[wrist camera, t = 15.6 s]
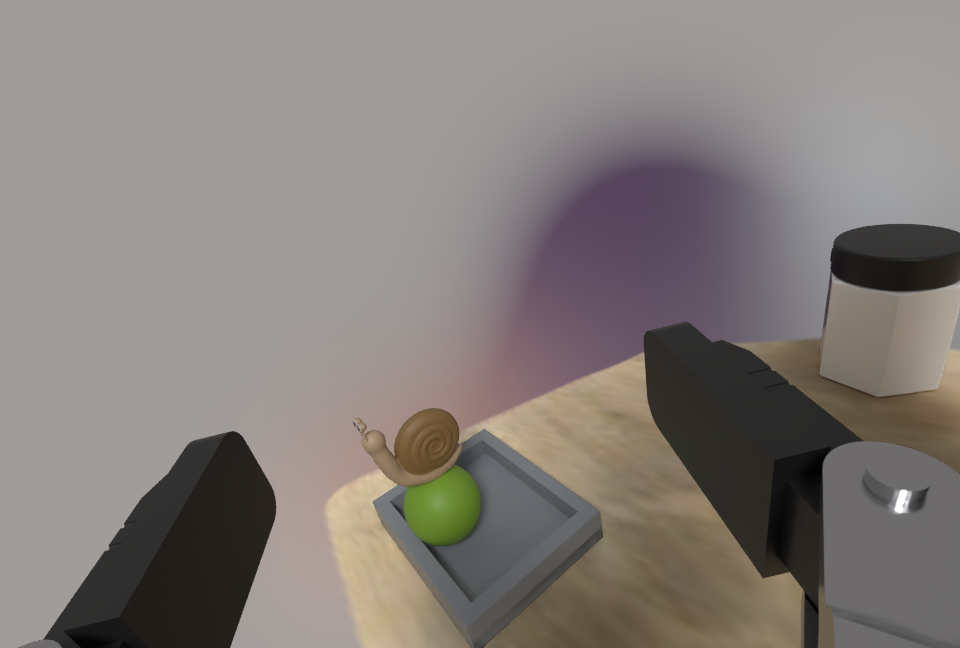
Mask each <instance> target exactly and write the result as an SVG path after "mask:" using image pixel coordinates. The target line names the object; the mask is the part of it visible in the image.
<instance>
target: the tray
mask: <svg viewBox="0 0 960 648" xmlns="http://www.w3.org/2000/svg"><path fill="white" fill-rule="evenodd" d="M461 445H462V450H461V453H460V455H459V457H458V459H457V461H456V463H455V464H454V465H457V466H459V467H461V468H463V469H464V470H466V471H467V472H468V473H469V474H470V475H471V476H472V477H473V479H474V480H475V482H476V483H477V485H478V488H479V490H480V494H481V513H480V517H479V520H478V522H477V524H476V526H475V527H474V529H473V530H472V532H471V533H470V534H469V535H468V536H467V537H466V538H464V539H463V540H461V541H460V542H458V543H455V544H452V545H449V546H434V545H430V544H428V543H425V542H424V541H422V540H420V539H419V538H418V537H417V536H416V535H415V534H414V533H413V532H412V531H411V529H410V528H409V526H408V524H407V521H406V519H405V515H404V497H405V493H406V490H407V488H408V487H405V486H401V485H397V486H396V487H394V488H393V489H391V490H390V491H388V492H387V493H385V494H383V495H382V496H380V497H379V498H377V499H376V500H374V501H373V504H374V506H375V509H376V511H377V514H378V516H379V518H380V521H381V523H382V525H383V526H384V528H385V529H386V530H387V532H388V533H389V535H390V536H391V537H392V539H393V540H394V541H395V543H396V544H397V546H398V547H399V548H400V550H401V551H402V552H403V554H404V555H405V557H406V558H407V559H408V561H409V562H410V563H411V565H412V566H413V568H414V569H415V570H416V572H417V573H418V574H419V576H420V577H421V579H422V580H423V581H424V583H425V584H426V585H427V587H428V588H429V590H430V591H431V592H432V594H433V595H434V596H435V598H436V599H437V600H438V602H439V603H440V605H441V606H442V607H443V609H444V610H445V611H446V613H447V614H448V616H449V617H450V618H451V620H452V621H453V622H454V624H455V625H456V627H457V628H458V629H459V631H460V632H461V633H462V635H463V636H464V638H465V639H466V640H467V642H468V643H469V644H470V646H471V647H472V648H483V647H484V646H485V645H486V644H487V643H488V642H489V641H490V640H491V639H492V638H494V637H495V636H496V635H497V634H498V633H499V632H500V631H501V630H502V629H503V628H504V627H505V626H507V625H508V624H509V623H510V622H511V621H512V620H513V619H514V618H515V617H516V616H517V615H518V614H520V613H521V612H522V611H523V610H524V609H525V608H526V607H527V606H528V605H529V604H530V603H532V602H533V601H534V600H535V599H536V598H537V597H538V596H539V595H540V594H541V593H542V592H543V591H545V590H546V589H547V588H548V587H549V586H550V585H551V584H552V583H553V582H554V581H555V580H557V579H558V578H559V577H560V576H561V575H562V574H563V573H564V572H565V571H566V570H567V569H568V568H570V567H571V566H572V565H573V564H574V563H575V562H576V561H577V560H578V559H579V558H580V557H582V556H583V555H584V554H585V553H586V552H587V551H588V550H589V549H590V548H591V547H592V546H593V545H595V544H596V543H597V542H598V541H599V540H600V539H601V538H602V537H603V534H602V526H601V518H600V511H599V510H597V509H596V508H595V507H593V506H592V505H590V504H589V503H588V502H586V501H585V500H583V499H582V498H580V497H579V496H578V495H576V494H575V493H573V492H572V491H571V490H569V489H568V488H566V487H565V486H564V485H562V484H561V483H559V482H558V481H557V480H555V479H554V478H552V477H551V476H550V475H548V474H547V473H545V472H544V471H543V470H541V469H540V468H538V467H537V466H536V465H534V464H533V463H531V462H530V461H529V460H527V459H526V458H524V457H523V456H522V455H520V454H519V453H517V452H516V451H515V450H513V449H512V448H510V447H509V446H508V445H506V444H505V443H503V442H502V441H501V440H499V439H498V438H496V437H495V436H494V435H492V434H491V433H489V432H488V431H487V430H485V429H483V430H482V431H480V432H479V433H477V434H476V435H474V436H473V437H471V438H470V439H468V440H467V441H465V442H463V443H462V444H461Z"/></svg>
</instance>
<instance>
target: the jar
mask: <svg viewBox="0 0 960 648" xmlns="http://www.w3.org/2000/svg"><path fill="white" fill-rule="evenodd" d="M830 261H831V272H830V280H829V288H828V295H827V302H826V310H825V318H824V326H823V334H822V341H821V348H820V375H821V376H822V377H825V378H828V379H830V380H833V381H836V382H838V383H841V384H844V385H846V386H849V387H852V388H854V389H857V390H860V391H862V392H865V393H868V394H870V395H873V396H875V397H885V396H893V395H900V394H908V393H916V392H923V391H931V390H937V389H938V388H939V386H940V383H941V379H942V375H943V371H944V368H945V364H946V360H947V356H948V353H949V349H950V345H951V341H952V338H953V334H954V330H955V326H956V323H957V319H958V315H959V312H960V233H959V232H957V231H953V230H950V229H946V228H941V227H935V226H928V225H917V224H916V225H915V224H884V225H874V226H866V227H861V228H856V229H853V230H850V231H847V232H844V233H842V234H840V235H839V236H838V237H837V238H836V239H835V240H834V245H833V248H832V252H831V259H830Z"/></svg>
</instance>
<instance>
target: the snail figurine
mask: <svg viewBox="0 0 960 648" xmlns="http://www.w3.org/2000/svg"><path fill="white" fill-rule="evenodd" d="M353 423H354V425H355V427H357V428H358V430H359V431H360V433H361V435H362V436H363V439H362V446H363V447H364V449H365V451H366V452H367V453H369V454H370V455H371V456H372V458H373V460H374V461H375V463H376V464H377V465H378V467H379V468H380V469H381V470H382V472H383V473H384V474H385V475H386V476H387V477H388V478H389V479H390V480H392V481H393V482H394V483H396V484H398V485H401V486H405V487H408V488H407V490H406V493H405V497H404V515H405V519H406V521H407V524H408V526H409V528H410V529H411V531H412V532H413V533H414V534H415V535H416V536H417V537H418V538H419V539H420V540H422V541H424V542H425V543H428V544H430V545H434V546H449V545H452V544H455V543H458V542H460V541H461V540H463V539H464V538H466V537H467V536H468V535H469V534H470V533H471V532H472V530H473V529H474V527H475V526H476V524H477V522H478V520H479V517H480V513H481V494H480V490H479V488H478V485H477V483H476V482H475V480H474V479H473V477H472V476H471V475H470V474H469V473H468V472H467V471H466V470H464V469H463V468H461V467H459V466H457V465H454V464H455V463H456V461H457V459H458V457H459V455H460V453H461V450H462V445H461V444H458V440H459V427H458V424H457V422H456V420H455V419H454V417H453V416H452V415H451V414H450V413H448V412H447V411H445V410H442V409H438V408H437V409H436V408H431V409H425V410H423V411H420V412H418V413H416V414H414V415H413V416H412V417H410V418H409V419H408V420H407V421H406V422H405V423H404V424H403V426H402V427H401V429H400V430H399V432H398V435H397V437H396V440H395V445H394V452H395V457H394V456H393V454H392V453H391V452H390V451H389V449H388V448H387V446H386V444H385V443H386V440H385V436H384V435H383V433H382V432H380V431H377V430H372V431H369V432H367V433H366V434H365V435H364V431H365V430H366V424H365V423H362V420H361V419H360V418H356V419H354V421H353ZM362 433H363V434H362Z"/></svg>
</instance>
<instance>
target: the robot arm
mask: <svg viewBox="0 0 960 648" xmlns="http://www.w3.org/2000/svg"><path fill="white" fill-rule="evenodd" d="M644 354H645V369H646V384H647V398H648V403H649V407H650V411H651V414H652V416H653V419H654V421H655V423H656V425H657V427H658V428H659V430H660V431H661V433H662V434H663V436H664V437H665V438H666V440H667V441H668V443H669V444H670V446H671V447H672V448H673V450H674V451H675V453H676V454H677V456H678V457H679V458H680V460H681V461H682V463H683V464H684V466H685V467H686V468H687V470H688V471H689V473H690V474H691V476H692V477H693V479H694V480H695V481H696V483H697V484H698V486H699V487H700V489H701V490H702V491H703V493H704V494H705V496H706V497H707V499H708V500H709V501H710V503H711V504H712V506H713V507H714V509H715V510H716V511H717V513H718V514H719V516H720V517H721V519H722V520H723V521H724V523H725V524H726V526H727V527H728V529H729V530H730V532H731V533H732V534H733V536H734V537H735V539H736V540H737V542H738V543H739V544H740V546H741V547H742V549H743V550H744V552H745V553H746V554H747V556H748V557H749V559H750V560H751V562H752V563H753V564H754V566H755V567H756V569H757V570H758V572H759V573H760V574H761V576H762V577H763V578H766V577H771V576H775V575H779V574H783V573H787V572H790V573H791V574H792V575H793V577H794V578H795V579H796V581H797V582H798V583H799V584H800V586H801V587H802V588H803V594H802V601H801V647H800V648H960V474H959V473H958V472H956V471H955V470H954V469H952V468H951V467H950V466H948V465H946V464H945V463H943V462H941V461H940V460H938V459H936V458H934V457H932V456H929V455H927V454H925V453H922V452H920V451H917V450H915V449H911V448H908V447H905V446H901V445H896V444H892V443H886V442H877V441H863V440H862V439H860V438H859V437H858V436H856V435H855V434H854V433H853V432H851V431H850V430H849V429H848V428H846V427H845V426H844V425H843V424H841V423H840V422H839V421H838V420H836V419H835V418H834V417H833V416H831V415H830V414H829V413H827V412H826V411H825V410H824V409H822V408H821V407H820V406H819V405H817V404H816V403H815V402H814V401H812V400H811V399H810V398H809V397H807V396H806V395H805V394H804V393H802V392H801V391H800V390H798V389H797V388H796V387H795V386H793V385H791V386H790V385H789V383H788V381H787V380H786V379H785V378H783V377H782V376H781V375H780V374H778V373H777V372H776V371H772V370H771V367H769V366H768V365H767V364H766V363H764V362H763V361H762V360H761V359H759V358H758V357H757V356H756V355H754V354H753V353H752V352H751V351H749V350H746V349H743V348H741V347H738V346H736V345H733V344H731V343H728V342H726V341H723V340H720V341H716V342H711V341H710V340H708V339H707V338H706V337H705V336H704V335H702V333H700V332H699V331H698V330H697V329H696V328H695V327H693V326H692V325H691V324H690V323H688V322H683V323H678V324H674V325H670V326H666V327H662V328H658V329H654V330H650V331H647V332H646V333H645V336H644ZM275 515H276V500H275V495H274V491H273V489H272V487H271V485H270V483H269V481H268V479H267V478H266V476H265V474H264V473H263V471H262V469H261V467H260V466H259V464H258V462H257V460H256V459H255V457H254V455H253V454H252V452H251V450H250V448H249V447H248V445H247V443H246V441H245V440H244V438H243V437H242V436H241V435H240V434H239V433H237V432H234V431H232V432H227V433H223V434H219V435H215V436H211V437H206V438H203V439H199V440H194V441H192V442H190V443H189V444H188V445H187V446H186V448H185V449H184V451H183V452H182V454H181V455H180V457H179V458H178V460H177V461H176V463H175V464H174V466H173V467H172V469H171V470H170V472H169V473H168V474H167V475H166V476H165V477H164V478H163V479H162V480H161V481H159V482H158V484H156V485H155V486H154V487H153V488H152V489H151V490H150V491H149V492H148V493H147V494H146V495H144V497H142V498H141V500H140V501H139V503H138V504H137V506H136V507H135V508H134V510H133V511H132V513H131V514H130V516H129V517H128V519H127V520H126V522H125V523H124V525H125V527H124V528H122V529H120V530H119V532H118V533H117V534H116V536H115V537H114V539H113V540H112V542H111V543H110V544H109V550H108V551H105V552H104V553H103V555H102V556H101V557H100V559H99V560H98V562H97V563H96V565H95V566H94V567H93V569H92V570H91V572H90V573H89V575H88V576H87V578H86V579H85V580H84V582H83V583H82V585H81V586H80V588H79V589H78V591H77V592H76V593H75V595H74V596H73V598H72V599H71V601H70V602H69V603H68V605H67V606H66V608H65V609H64V611H63V612H62V614H61V615H60V616H59V618H58V619H57V621H56V622H55V623H54V625H53V626H52V628H51V629H50V631H49V632H48V634H47V635H46V637H45V638H44V639H43V640H39V641H35V642H32V643H29V644H26V645H24V646H21V647H19V648H230V646H231V644H232V641H233V638H234V635H235V632H236V629H237V626H238V623H239V621H240V618H241V615H242V612H243V609H244V606H245V603H246V600H247V598H248V595H249V592H250V589H251V586H252V583H253V580H254V578H255V575H256V572H257V569H258V566H259V563H260V560H261V558H262V555H263V552H264V549H265V546H266V543H267V540H268V538H269V534H270V532H271V529H272V526H273V523H274V520H275Z"/></svg>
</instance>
